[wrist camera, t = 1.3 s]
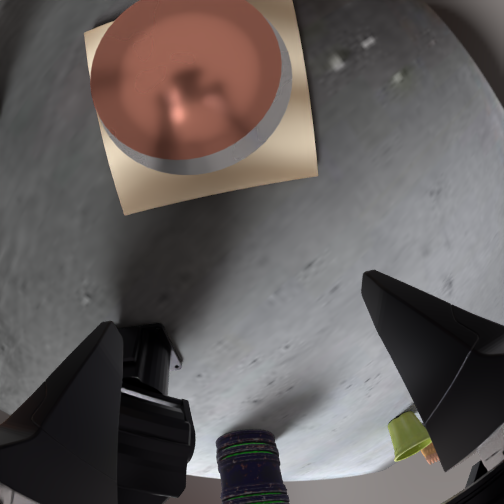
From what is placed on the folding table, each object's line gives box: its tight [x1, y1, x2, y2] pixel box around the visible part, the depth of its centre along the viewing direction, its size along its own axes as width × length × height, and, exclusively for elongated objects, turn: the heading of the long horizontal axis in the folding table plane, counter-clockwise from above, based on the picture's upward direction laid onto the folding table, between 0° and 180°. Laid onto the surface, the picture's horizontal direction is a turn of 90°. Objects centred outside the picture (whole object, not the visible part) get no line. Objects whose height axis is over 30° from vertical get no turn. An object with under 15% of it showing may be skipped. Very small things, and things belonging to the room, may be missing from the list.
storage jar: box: [216, 429, 289, 504], centre depth 33 cm, size 10×10×15 cm
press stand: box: [84, 0, 318, 215], centre depth 15 cm, size 14×14×4 cm
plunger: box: [90, 0, 292, 175], centre depth 9 cm, size 7×7×7 cm
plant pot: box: [388, 411, 432, 461], centre depth 43 cm, size 9×9×9 cm
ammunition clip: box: [421, 426, 440, 464], centre depth 51 cm, size 11×2×12 cm, turn 62°
